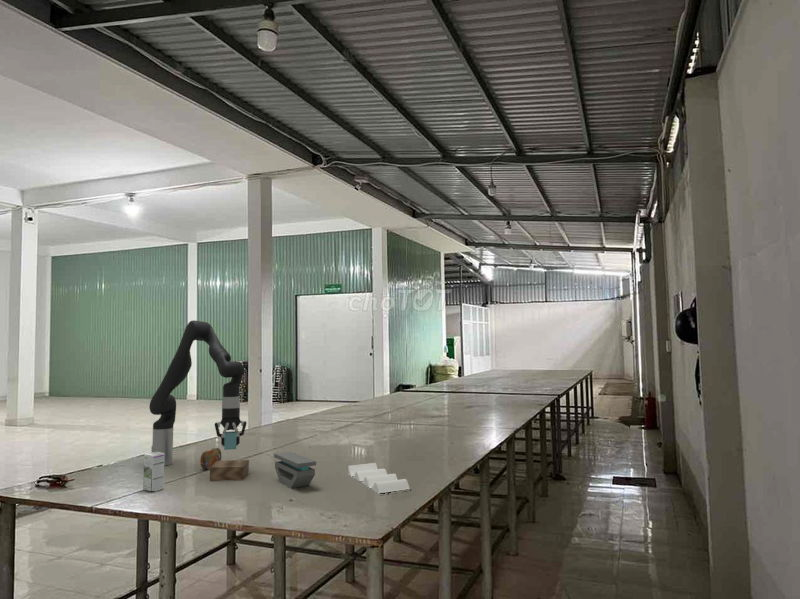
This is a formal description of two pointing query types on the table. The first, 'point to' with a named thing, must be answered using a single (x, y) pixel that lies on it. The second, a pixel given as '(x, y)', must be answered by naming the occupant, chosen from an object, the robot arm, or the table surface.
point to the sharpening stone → (294, 469)
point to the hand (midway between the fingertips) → (230, 445)
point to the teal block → (230, 440)
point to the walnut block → (229, 470)
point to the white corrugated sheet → (377, 478)
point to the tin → (210, 457)
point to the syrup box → (153, 471)
